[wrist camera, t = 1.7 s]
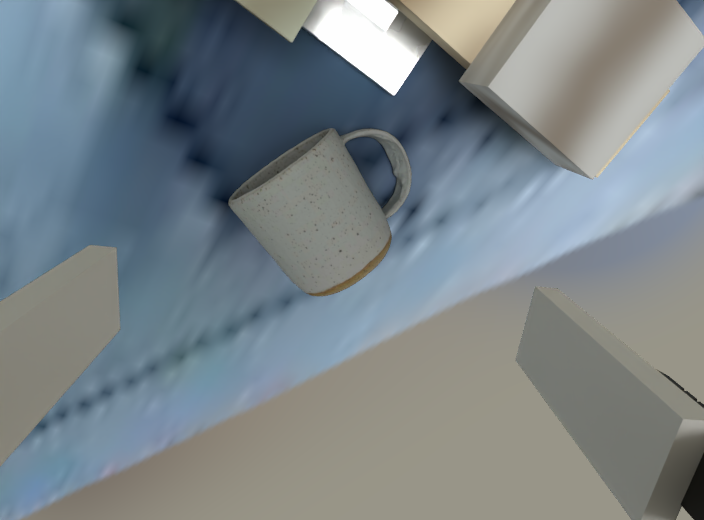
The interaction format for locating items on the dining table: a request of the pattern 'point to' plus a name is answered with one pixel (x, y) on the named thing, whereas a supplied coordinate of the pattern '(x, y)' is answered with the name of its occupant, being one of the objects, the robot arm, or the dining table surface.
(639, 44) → the balance beam
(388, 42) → the stand
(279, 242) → the ceramic mug
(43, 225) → the dining table surface
